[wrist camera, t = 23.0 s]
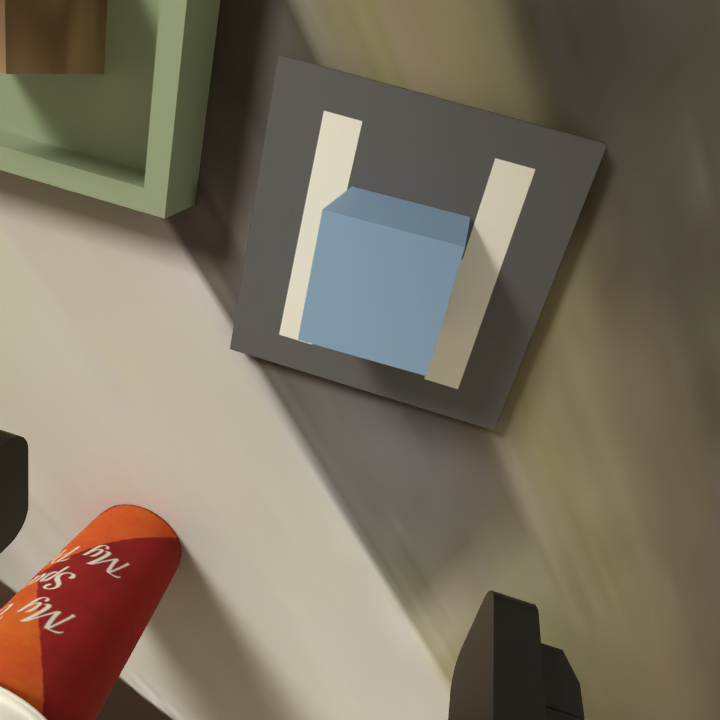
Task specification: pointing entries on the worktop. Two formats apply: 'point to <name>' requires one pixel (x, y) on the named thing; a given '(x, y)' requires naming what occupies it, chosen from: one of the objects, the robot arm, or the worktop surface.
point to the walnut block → (52, 36)
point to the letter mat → (423, 186)
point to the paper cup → (84, 616)
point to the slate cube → (382, 278)
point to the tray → (120, 111)
